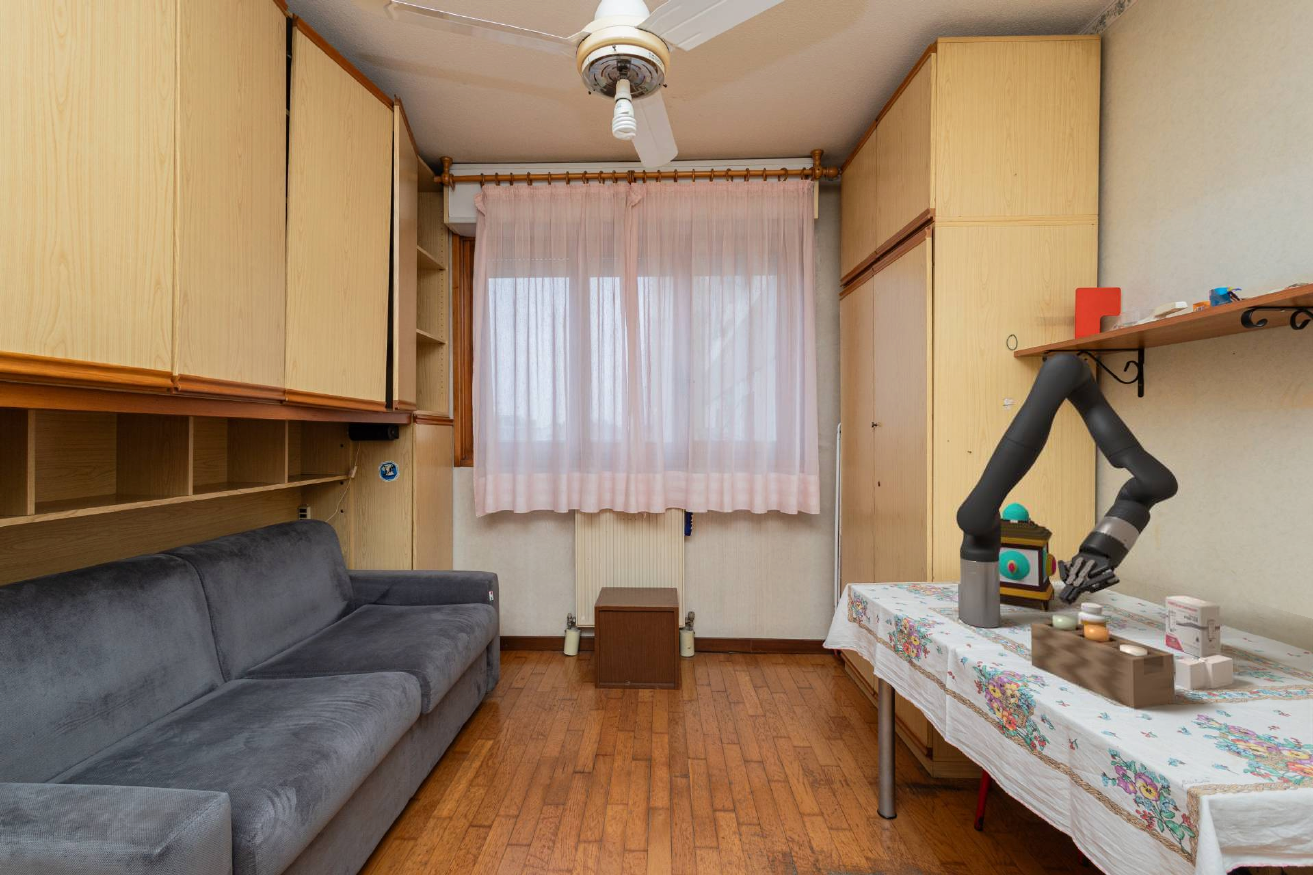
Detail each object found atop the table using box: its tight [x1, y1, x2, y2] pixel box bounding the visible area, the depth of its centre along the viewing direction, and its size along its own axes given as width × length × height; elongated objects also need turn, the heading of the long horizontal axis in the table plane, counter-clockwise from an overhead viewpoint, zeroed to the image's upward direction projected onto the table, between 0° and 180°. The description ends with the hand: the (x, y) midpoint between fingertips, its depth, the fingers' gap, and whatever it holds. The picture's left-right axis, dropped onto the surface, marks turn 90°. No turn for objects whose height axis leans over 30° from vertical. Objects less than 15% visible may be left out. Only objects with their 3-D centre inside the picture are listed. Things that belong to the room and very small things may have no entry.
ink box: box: [1165, 595, 1222, 658], centre depth 130 cm, size 9×5×12 cm, turn 5°
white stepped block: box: [1175, 655, 1234, 690], centre depth 113 cm, size 15×11×6 cm
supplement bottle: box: [1077, 602, 1107, 628], centre depth 134 cm, size 5×5×10 cm
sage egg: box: [1052, 614, 1077, 632], centre depth 121 cm, size 4×4×3 cm
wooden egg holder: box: [1030, 621, 1176, 710], centre depth 114 cm, size 21×10×9 cm, turn 14°
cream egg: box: [1120, 645, 1147, 656], centre depth 107 cm, size 4×4×3 cm
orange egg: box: [1084, 625, 1110, 643], centre depth 114 cm, size 4×4×3 cm
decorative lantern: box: [999, 502, 1057, 613], centre depth 172 cm, size 20×20×30 cm
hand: (1064, 601), depth 120 cm, fingers closed
